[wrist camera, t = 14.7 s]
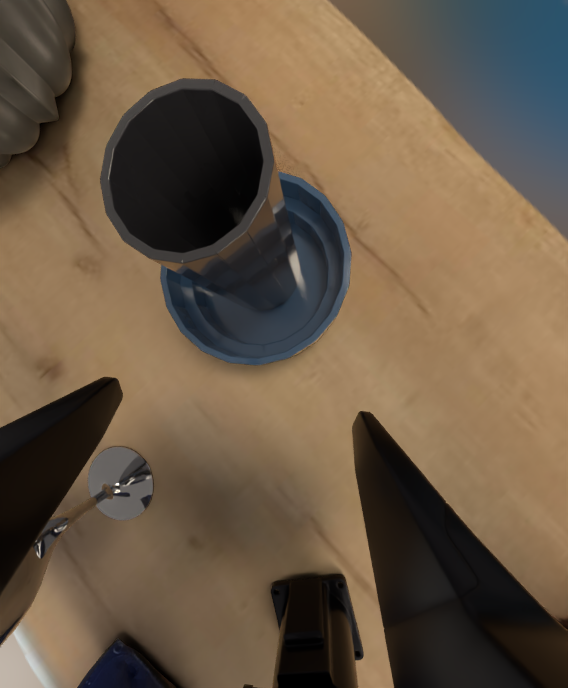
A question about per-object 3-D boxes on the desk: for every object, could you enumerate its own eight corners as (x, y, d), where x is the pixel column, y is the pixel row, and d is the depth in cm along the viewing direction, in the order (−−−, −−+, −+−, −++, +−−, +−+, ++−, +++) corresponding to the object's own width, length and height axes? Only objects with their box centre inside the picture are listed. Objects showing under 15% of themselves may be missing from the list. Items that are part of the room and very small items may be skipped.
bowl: (362, 339, 21) (373, 337, 16) (210, 376, 23) (183, 383, 18) (321, 184, 21) (322, 140, 17) (177, 232, 23) (143, 206, 19)
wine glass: (133, 427, 24) (-179, 564, 9) (171, 503, 23) (-98, 788, 8) (72, 464, 25) (-305, 643, 10) (106, 537, 24) (-241, 850, 9)
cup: (315, 280, 21) (310, 181, 8) (251, 326, 21) (159, 298, 9) (271, 218, 21) (205, 39, 9) (210, 264, 22) (71, 160, 10)
